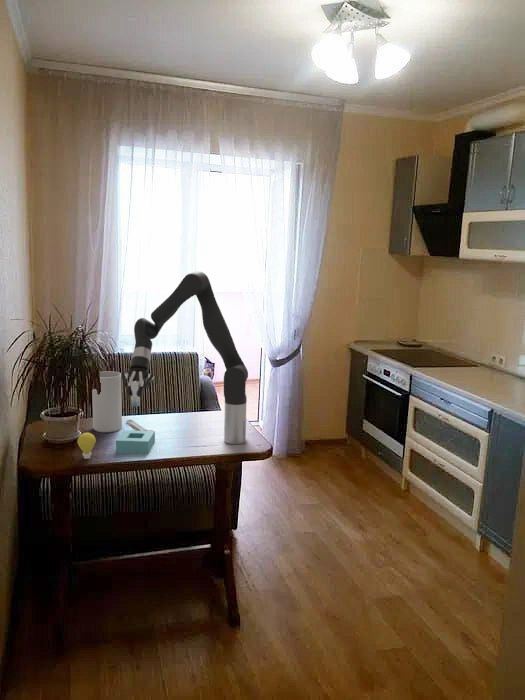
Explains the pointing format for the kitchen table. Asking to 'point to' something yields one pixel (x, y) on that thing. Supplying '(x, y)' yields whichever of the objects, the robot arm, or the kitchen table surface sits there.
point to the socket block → (135, 441)
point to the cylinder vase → (108, 403)
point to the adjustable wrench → (136, 426)
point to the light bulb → (86, 444)
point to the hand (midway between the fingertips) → (134, 395)
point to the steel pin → (135, 393)
